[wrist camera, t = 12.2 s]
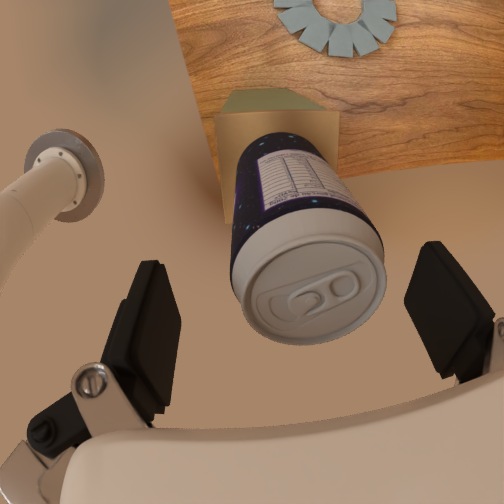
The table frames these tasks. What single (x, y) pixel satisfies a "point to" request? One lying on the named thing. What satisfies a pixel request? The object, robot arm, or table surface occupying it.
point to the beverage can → (301, 245)
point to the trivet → (339, 27)
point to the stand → (269, 130)
